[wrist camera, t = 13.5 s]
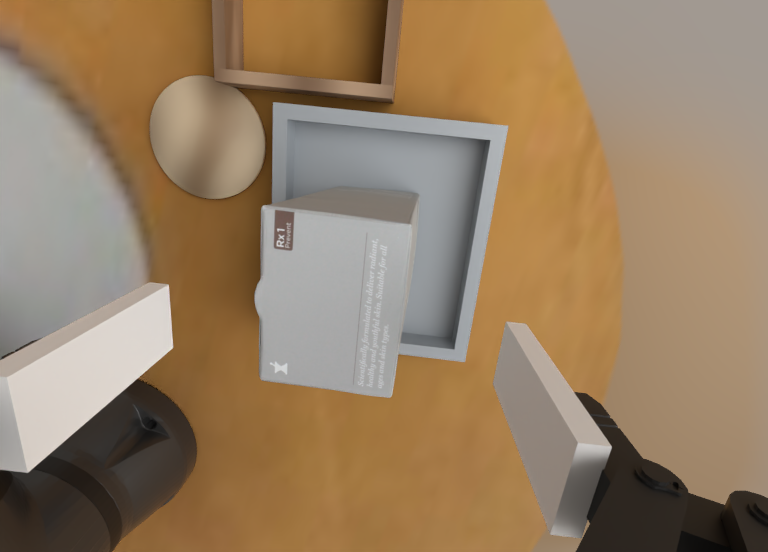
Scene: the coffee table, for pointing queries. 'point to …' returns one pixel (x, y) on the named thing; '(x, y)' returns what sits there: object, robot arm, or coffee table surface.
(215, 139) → the curved potato chip
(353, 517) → the coffee table surface
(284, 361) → the skincare box
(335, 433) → the coffee table surface
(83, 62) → the coffee table surface
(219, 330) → the coffee table surface
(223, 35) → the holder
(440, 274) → the tray
